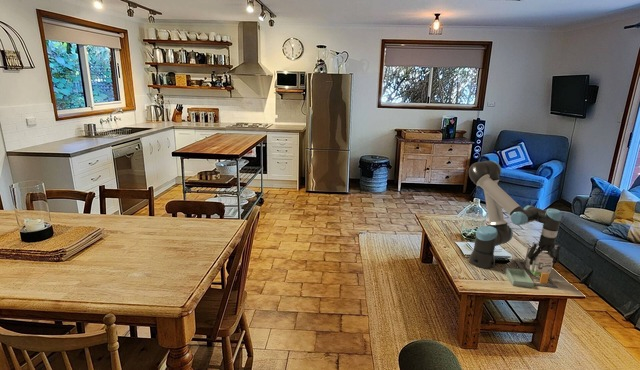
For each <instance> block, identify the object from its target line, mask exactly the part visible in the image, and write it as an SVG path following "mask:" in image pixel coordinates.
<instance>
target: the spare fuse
mask: <svg viewBox="0 0 640 370" xmlns="http://www.w3.org/2000/svg"><path fill="white" fill-rule="evenodd" d="M531 248H532V247H527V250H526V255H525V258H526V259H525V258H524V261H525V264H524V263H523V264H524V266H525V268H526V270H528V272H529V273H531V272H530V264H529V262H530V259H529V258H528V257H527V255H528V253H529V251H530V250H531ZM537 249H538V247H536V249H535V251H536V250H537ZM535 251H534V252H535ZM533 254H534V253H533ZM540 254H542V252H541V253H540Z"/></svg>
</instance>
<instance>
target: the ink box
mask: <svg viewBox="0 0 640 370" xmlns="http://www.w3.org/2000/svg"><path fill="white" fill-rule="evenodd" d="M534 260H535V263H534V267H533V271H531V270H530V272H529V273H531V274H532V275H533V276H539V277H541V274H542V273H549V272H550V269H551V265H552V261H553V258H551V256H550V254H549V253H541V254H539V255H538V256H537V257H536V258H535V259H534ZM551 270H552V269H551ZM549 274H550V273H549Z"/></svg>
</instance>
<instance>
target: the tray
mask: <svg viewBox="0 0 640 370" xmlns="http://www.w3.org/2000/svg"><path fill="white" fill-rule="evenodd" d="M526 272H527V271H526V269H525V270H521V269H520V268H519V269H517V268H507V267H506V268H505V271H504V273H505V275H506V277H507V278H508V280H509V281H510V284H511V286H513V287H514V286H515V287H523V288H534V286H535V285H534V283H535V282H534V281H533V279H532V278H530V277H531V276H530V275H529V274H528V272H527V273H526ZM529 276H530V277H529ZM531 279H532V280H531Z"/></svg>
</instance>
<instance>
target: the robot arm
mask: <svg viewBox="0 0 640 370" xmlns="http://www.w3.org/2000/svg"><path fill="white" fill-rule="evenodd" d="M501 174H502V167H501V165H500V164H499V163H498V162H497V161H495V160H484V161H477V162H474V163H472V164H471V165H470V167H469V169H468V176H469V178H470V180H471V182H473V184H475V185H476V187H480V188H481V189H482V190H483V193H484V199H485V204H486V210H487V216H488V220H489V221H488V223H487V225H481V226H479V227H478V228H476V229H477V230H476V232H475V240H474V246H473V250H472V252H471V253H470V255H469V258H468V262H469V263H470V264H471V265H473V266H475V267H477V268H481V269H493V268H494V267H495V266H496V265H495V264H496V261H495V260H496V258H495V248H496V247H498V246H501V245H502V244H506V243H509V242H510V241H511V240H512V239H513V236H514V231H513V229H512V227H510V226H509V225H508V221H506V220H505V218H504V212H503V210H504V211H505V212H506V213H507V214H508V215H509V216H510V221H511V223H512V224H513V225H516V226H521V225H522V226H523V225H525V224H528V223H532V222H537V223H540V224H542V229H541V234H540V238H539V241H538V242H532V245H531V247H530V248H531V250H530V251H529V253H528V255H527V257H528V258H529V259H530V262H529V264H530V270H531V271H533V267H534V263H535V260H534V259H535V258H536V257H537V256H538V255H539V254H540V253H541V254H542V253H543V252H548V255H550V256H551V258H553V261H552V265H551V269H550V272H549V274H551V273H552V269H553V268H554V267H555V264H556V263H559V262H560V249H561V246H559V245H558V244H556V240H557V236H558V234H559V233H558V232H559V228H560V224H561V221H562V216H563V212H562V211H561V210H559V209H556V208H547V209H546V210H545V209H542V208H539V207H536V206H534V205H526V206H524V207H522V206H521V205H520V204H518V203H517V202H516V200H515V199H513V198H512V197H511V196H510V195H509V194H508V193H507V192H506V191H505V190H503V189H502V187H500V186H499V185H498V183H499V181H500V175H501ZM536 248H537V250H536V251H535V249H536ZM553 249H554V253H553ZM534 251H535V252H534ZM533 253H534V254H533Z"/></svg>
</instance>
